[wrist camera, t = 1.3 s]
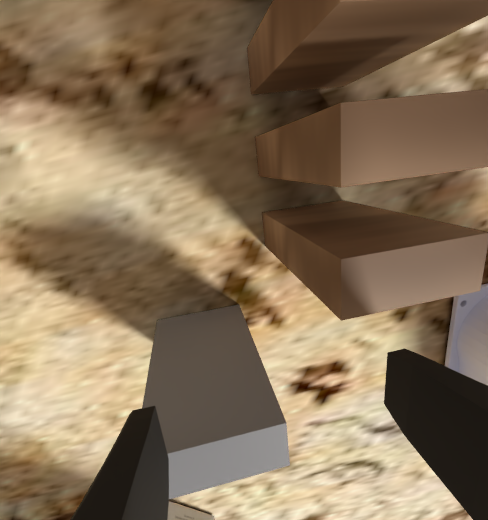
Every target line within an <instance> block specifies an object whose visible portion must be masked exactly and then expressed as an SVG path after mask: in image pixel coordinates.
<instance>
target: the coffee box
mask: <svg viewBox="0 0 488 520" xmlns="http://www.w3.org/2000/svg"><path fill="white" fill-rule="evenodd" d="M167 520H215V518H214V516H212V515H209V514H207V513H203V512H200V511H197V510H194V509H191V508H188V507H185V506H182V505H180V504H177V503H173V502H170V501H169V506H168V518H167Z"/></svg>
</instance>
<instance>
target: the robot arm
mask: <svg viewBox="0 0 488 520" xmlns="http://www.w3.org/2000/svg"><path fill="white" fill-rule="evenodd" d="M384 404H385V406H386V407H387V409H388V410H389V412H390V414H391V415H392V417H393V418H394V420H395V422H396V423H397V425H398V426H399V428H400V429H401V431H402V432H403V434H404V435H405V436H406V438H407V439H408V440H409V441H410V443H411V444H412V445H413V447H414V448H415V449H416V450H417V451H418V453H419V454H420V455H421V456H422V458H423V459H424V460H425V461H426V463H427V464H428V465H429V466H430V467H431V469H432V470H433V471H434V472H435V474H436V475H437V476H438V477H439V478H440V480H441V481H442V482H443V483H444V485H445V486H446V487H447V488H448V489H449V491H450V492H451V493H452V494H453V496H454V497H455V498H456V499H457V500H458V502H459V503H460V504H461V505H462V507H463V508H464V509H465V510H466V511H467V513H468V514H469V515H470V516H471V518H472V519H473V520H488V284H483V285H481V289H480V291H477V292H473V293H468V294H463V295H459V296H454V301H453V308H452V315H451V323H450V330H449V337H448V345H447V352H446V359H445V366H444V365H441V364H439V363H437V362H435V361H433V360H430V359H428V358H426V357H424V356H421V355H419V354H417V353H414V352H412V351H409V350H407V349H402V350H397V351H393V352H388V356H387V370H386V384H385V398H384ZM168 506H169V458H168V454H167V450H166V446H165V442H164V438H163V434H162V430H161V426H160V423H159V419H158V415H157V411H156V407H155V406H151V407H147V408H142V409H138V410H133V411H132V412H131V413H130V415H129V417H128V419H127V421H126V423H125V424H124V426H123V428H122V430H121V432H120V434H119V436H118V438H117V440H116V442H115V444H114V446H113V447H112V449H111V451H110V453H109V455H108V457H107V458H106V460H105V462H104V464H103V466H102V467H101V469H100V471H99V473H98V474H97V476H96V478H95V479H94V481H93V483H92V485H91V486H90V488H89V490H88V492H87V493H86V495H85V497H84V499H83V500H82V502H81V504H80V505H79V507H78V508H77V510H76V512H75V513H74V515H73V516H72V518H71V520H167V518H168Z"/></svg>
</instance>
